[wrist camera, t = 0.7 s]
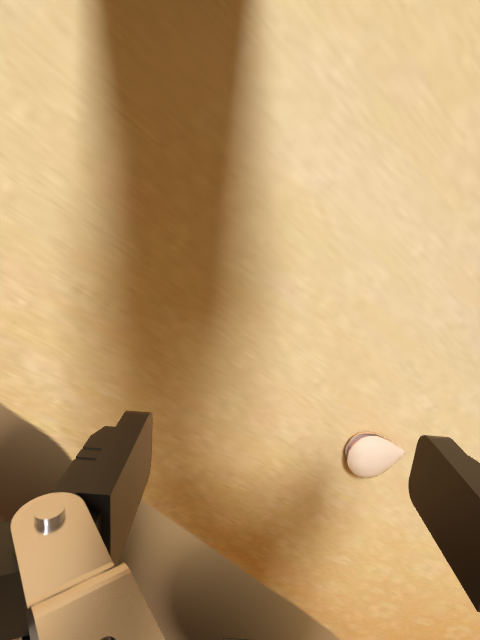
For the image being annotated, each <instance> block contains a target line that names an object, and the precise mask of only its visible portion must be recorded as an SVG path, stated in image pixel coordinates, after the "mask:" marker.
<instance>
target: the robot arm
mask: <svg viewBox="0 0 480 640" xmlns="http://www.w3.org/2000/svg"><path fill="white" fill-rule="evenodd" d="M151 454H152V413H149V412H137V411H125V413H124V414H123V416H122V418H121V419H120V421H119V423H118V424H117V426H116V427H109V426H105V427H103V428H102V429H100V430H99V431H97V432H96V433H94V434H92V435H91V436H90V438H89V439H88V440H87V442H86V443H85V445H84V446H83V449H81V450H80V452H79V453H78V455H77V456H76V459H74V460H73V462H72V463H71V465H70V466H69V468H68V469H67V471H66V472H65V474H64V475H63V476H62V478H61V479H60V481H59V482H58V484H57V485H56V486H55V488H54V489H53V491H52V492H51V493H50V494H46V495H43V496H40V497H38V498H35V499H33V500H31V501H30V502H28V503H26V504H25V505H24V506H22V507H21V508H20V509H19V510H18V511H17V512H16V514H15V515H14V517H13V519H12V520H11V521H7V522H2V523H0V640H12V639H16V638H20V640H165V638H164V636H163V634H162V632H161V630H160V628H159V626H158V624H157V622H156V620H155V619H154V616H153V614H152V612H151V611H150V609H149V607H148V605H147V603H146V601H145V599H144V597H143V595H142V593H141V591H140V589H139V587H138V585H137V583H136V581H135V579H134V577H133V575H132V573H131V571H130V569H129V568H128V566H127V565H126V564H125V563H124V562H120V563H118V561H119V558H120V556H121V553H122V550H123V547H124V545H125V542H126V539H127V536H128V534H129V531H130V528H131V525H132V522H133V520H134V517H135V514H136V512H137V509H138V506H139V503H140V501H141V498H142V495H143V492H144V489H145V487H146V484H147V481H148V478H149V473H150V467H151ZM409 494H410V498H411V501H412V503H413V505H414V507H415V508H416V510H417V512H418V513H419V515H420V517H421V518H422V520H423V522H424V523H425V525H426V527H427V528H428V530H429V532H430V533H431V535H432V537H433V538H434V540H435V542H436V543H437V545H438V547H439V548H440V550H441V552H442V553H443V555H444V557H445V558H446V560H447V562H448V563H449V565H450V567H451V568H452V570H453V572H454V573H455V575H456V577H457V578H458V580H459V582H460V583H461V585H462V587H463V588H464V590H465V592H466V593H467V595H468V597H469V598H470V600H471V602H472V603H473V605H474V607H475V608H476V610H477V612H480V463H479V462H478V461H476V460H474V459H473V458H471V457H470V456H468V455H467V454H466V453H465V452H464V451H463V450H462V449H461V448H460V447H459V446H458V445H457V444H456V443H455V442H454V441H453V440H452V439H451V438H449V437H439V436H427V435H423V436H421V437H420V438H419V440H418V443H417V447H416V451H415V456H414V460H413V464H412V469H411V473H410V477H409ZM223 640H246V639H231V638H223Z"/></svg>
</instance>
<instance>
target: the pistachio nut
mask: <svg viewBox="0 0 480 640" xmlns="http://www.w3.org/2000/svg"><path fill="white" fill-rule="evenodd" d="M404 454H405V452H404V450H402V449H401V448H400V447H399V446H398V445H396V444H395V443H394V442H392V441H391V440H389V439H387V438H386V437H384V436H382V435H379V434H376V433H372V432H360V433H358V434H356V435H355V436H353V437H352V438H351V439H350V441H349V443H348V444H347V446H346V450H345V457H346V460H347V462H348V467H349V468H350V470H351V471H352V472H353V473H354V474H355V475H357V476H359V477H361V478H372V477H376V476H378V475H380V474H382V473H384V472H385V471H386V470H388V469H389V468H390V467H391V466H392V465H393V464H395V463H396V462H397V461H398V460H399V459H401V458H402V457H403V456H404Z"/></svg>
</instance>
